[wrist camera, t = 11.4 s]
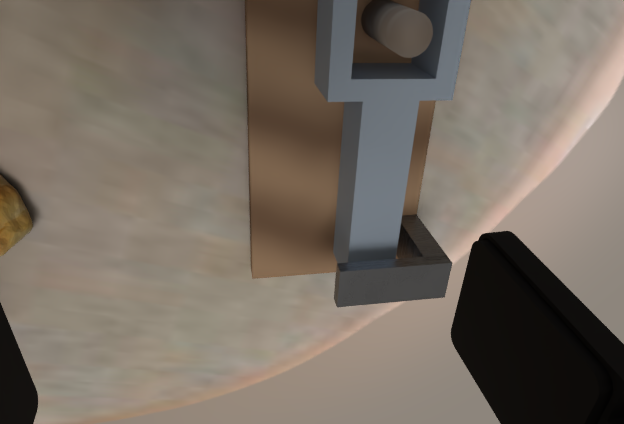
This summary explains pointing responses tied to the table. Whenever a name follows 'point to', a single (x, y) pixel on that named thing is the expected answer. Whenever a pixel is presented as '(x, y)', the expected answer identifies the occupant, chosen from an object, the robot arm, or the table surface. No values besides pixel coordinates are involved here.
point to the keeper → (397, 271)
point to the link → (380, 120)
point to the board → (313, 126)
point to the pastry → (12, 217)
